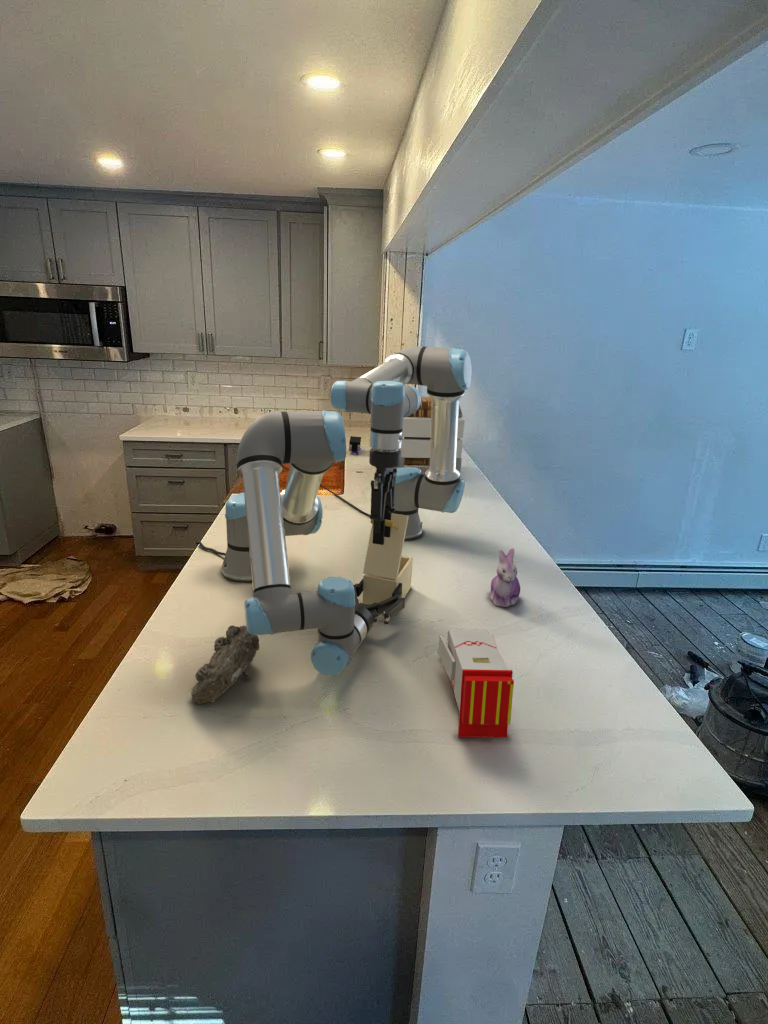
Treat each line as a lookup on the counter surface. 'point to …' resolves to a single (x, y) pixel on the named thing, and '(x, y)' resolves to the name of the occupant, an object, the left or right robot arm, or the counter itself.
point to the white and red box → (478, 682)
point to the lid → (387, 549)
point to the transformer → (424, 437)
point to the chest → (387, 583)
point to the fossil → (225, 664)
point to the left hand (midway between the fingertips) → (383, 584)
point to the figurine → (505, 581)
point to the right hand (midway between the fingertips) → (381, 539)
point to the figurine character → (354, 444)
